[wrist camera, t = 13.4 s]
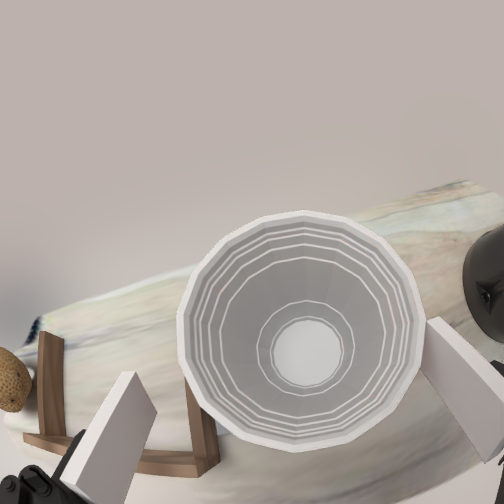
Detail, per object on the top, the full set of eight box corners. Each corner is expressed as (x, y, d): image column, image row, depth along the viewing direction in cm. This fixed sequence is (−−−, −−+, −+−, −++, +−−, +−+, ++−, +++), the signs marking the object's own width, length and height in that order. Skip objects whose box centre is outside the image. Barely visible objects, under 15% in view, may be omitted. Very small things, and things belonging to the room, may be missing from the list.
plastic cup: (395, 384, 18) (468, 378, 8) (266, 435, 19) (214, 480, 8) (344, 268, 23) (359, 174, 13) (227, 314, 24) (157, 253, 14)
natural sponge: (50, 415, 26) (-5, 406, 17) (18, 415, 25) (-30, 405, 17) (43, 355, 30) (-8, 334, 22) (13, 362, 30) (-32, 344, 21)
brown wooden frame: (204, 326, 30) (180, 305, 24) (220, 461, 22) (198, 477, 16) (58, 339, 31) (24, 323, 25) (61, 442, 24) (23, 441, 18)
